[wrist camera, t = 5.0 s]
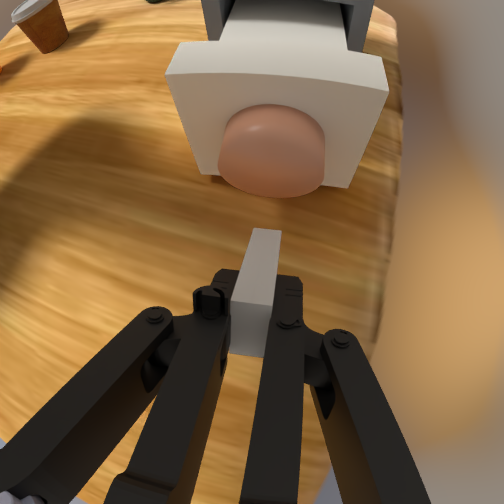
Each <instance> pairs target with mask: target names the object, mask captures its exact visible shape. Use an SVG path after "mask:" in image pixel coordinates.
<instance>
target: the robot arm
mask: <svg viewBox="0 0 504 504" xmlns="http://www.w3.org/2000/svg"><path fill="white" fill-rule="evenodd" d="M281 233H282V231H280V230H271V229H262V228H254V229H253V232H252V235H251V238H250V241H249V244H248V247H247V250H246V253H245V257H244V260H243V263H242V266H241V269H240V271H238V270H229V269H221V270H220V271H218V272H217V273H216V274H215V276H214V278H213V281H212V283H211V285H210V286H203V287H200V288H198V289H196V290H195V291H194V292H193V308H194V311H193V313H192V314H189V315H184V316H172V313H171V312H170V310H168V309H166V308H164V307H160V306H156V307H150V308H146V309H145V310H143V311H142V312H141V313H140V314H138V315H137V316H136V317H135V318H134V319H133V320H132V321H131V322H130V323H129V324H128V325H127V326H126V327H125V328H123V329H122V330H121V331H120V332H119V333H118V334H117V335H116V336H115V337H114V338H113V339H112V340H111V341H110V342H109V343H108V344H107V345H106V346H104V347H103V348H102V349H101V350H100V351H99V352H98V353H97V354H96V355H95V356H94V357H93V358H92V359H91V360H90V361H89V362H88V363H87V364H86V365H85V366H84V367H83V368H82V369H81V370H80V371H79V372H77V373H76V374H75V375H74V376H73V377H72V378H71V379H70V380H69V381H68V382H67V383H66V384H65V385H64V386H63V387H62V388H61V389H60V390H59V391H58V392H57V393H56V394H55V395H54V396H53V397H52V398H51V399H50V400H49V401H48V402H47V403H46V404H45V405H44V406H43V407H42V408H41V409H40V410H39V411H38V412H37V413H36V414H35V415H34V416H33V417H32V418H31V419H30V420H29V421H28V422H27V423H26V424H25V425H24V426H23V427H22V428H21V429H20V430H19V432H18V433H17V434H16V435H15V436H14V437H13V438H12V439H11V440H10V441H9V442H8V443H7V444H6V445H5V446H4V447H3V448H2V449H0V504H69V503H70V502H71V501H72V499H73V498H74V497H75V496H76V495H77V494H78V493H79V491H80V490H81V489H82V488H83V487H84V485H85V484H86V483H87V482H88V480H89V479H90V478H91V477H92V475H93V474H94V473H95V472H96V471H97V469H98V468H99V467H100V466H101V464H102V463H103V462H104V461H105V459H106V458H107V457H108V456H109V454H110V453H111V452H112V451H113V449H114V448H115V447H116V446H117V444H118V443H119V442H120V441H121V439H122V438H123V437H124V436H125V434H126V433H127V432H128V431H129V429H130V428H131V427H132V426H133V424H134V423H135V422H136V421H137V419H138V418H139V417H140V415H141V414H142V413H143V412H144V410H145V409H146V408H147V407H148V405H149V404H150V403H151V402H152V400H153V399H154V398H155V396H156V395H157V396H156V399H155V401H154V403H153V406H152V408H151V411H150V413H149V415H148V418H147V420H146V423H145V425H144V427H143V430H142V432H141V435H140V437H139V440H138V442H137V445H136V447H135V449H134V452H133V454H132V457H131V459H130V462H129V464H128V467H127V469H126V470H125V471H124V472H123V473H120V474H118V475H117V476H116V477H115V478H114V480H113V482H112V484H111V486H110V488H109V491H108V493H107V496H106V498H105V501H104V503H103V504H190V503H191V499H192V495H193V492H194V488H195V484H196V480H197V477H198V473H199V469H200V465H201V461H202V458H203V454H204V450H205V446H206V442H207V439H208V435H209V431H210V427H211V423H212V419H213V416H214V412H215V408H216V404H217V400H218V396H219V393H220V389H221V385H222V381H223V377H224V373H225V370H226V366H227V354H228V350H229V353H232V354H239V355H246V356H253V357H261V358H264V359H263V366H262V372H261V379H260V385H259V391H258V397H257V404H256V410H255V416H254V422H253V428H252V434H251V440H250V445H249V451H248V457H247V463H246V468H245V474H244V479H243V485H242V490H241V495H240V500H239V504H297V497H298V485H299V471H300V456H301V439H302V418H303V392H304V383H306V384H309V385H310V390H311V394H312V397H313V400H314V404H315V407H316V411H317V414H318V417H319V421H320V424H321V428H322V431H323V435H324V438H325V442H326V445H327V449H328V452H329V456H330V459H331V463H332V466H333V470H334V473H335V477H336V480H337V484H338V487H339V491H340V494H341V498H342V502H343V504H431V502H430V499H429V497H428V494H427V492H426V489H425V487H424V484H423V482H422V479H421V477H420V475H419V472H418V470H417V467H416V465H415V462H414V460H413V458H412V455H411V453H410V451H409V448H408V446H407V444H406V442H405V439H404V437H403V435H402V433H401V430H400V428H399V426H398V424H397V421H396V419H395V417H394V415H393V413H392V410H391V408H390V406H389V404H388V402H387V400H386V397H385V395H384V393H383V391H382V389H381V387H380V385H379V383H378V381H377V378H376V376H375V374H374V372H373V371H372V368H371V366H370V364H369V362H368V360H367V358H366V356H365V354H364V352H363V350H362V348H361V346H360V344H359V342H358V340H357V338H356V337H355V336H354V335H353V334H352V333H350V332H349V331H346V330H342V329H333V330H329V331H328V332H326V333H325V334H324V335H323V334H320V333H317V332H315V331H312V330H311V329H309V328H308V327H307V326H306V325H305V323H304V321H303V283H302V282H301V280H300V279H299V277H295V276H286V275H278V274H277V269H278V260H279V251H280V242H281Z"/></svg>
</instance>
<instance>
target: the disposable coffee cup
mask: <svg viewBox="0 0 504 504" xmlns="http://www.w3.org/2000/svg"><path fill="white" fill-rule="evenodd" d="M11 16H12V22H13V23H15V24H17V25H18V26H19V27H20V29H21V30H22V31H23V32H24V33H25V34H26V35H27V37H28V38H29V39H30V40H31V41H32V42H33V43H34V44H35V46H36V47H37V48H38V49H39V50H40V51H41V52H42V53H44V54H45V53H48V52H51V51H53V50H54V49H56V48H57V47H59V46H60V45H61V44H62V43H64V42H65V41H66V39H67V38H68V36H69V33H68V30H67V28H66V25H65V22H64V19H63V16H62V13H61V10H60V6H59V3H58V0H26V1H24V2H23V3H22V4H21V5H20V6H19V7H17V8H16V9H15V10H14V12H13V13H12V14H11Z"/></svg>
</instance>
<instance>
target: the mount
mask: <svg viewBox="0 0 504 504" xmlns="http://www.w3.org/2000/svg"><path fill="white" fill-rule="evenodd" d="M235 1H236V0H201V3H202V8H203V14H204V19H205V24H206V30H207V35H208V40H209V41H219V40H220V37H221V34H222V32H223V29H224V27H225V24H226V22H227V20H228V17H229V15H230V12H231V10H232V8H233V5H234V3H235ZM323 1H331V2H337V3H340V8H341V14H342V19H343V25H344V31H345V37H346V43H347V50H349V51H354V52H360V53H362V50H363V46H364V42H365V38H366V34H367V30H368V26H369V22H370V17H371V13H372V9H373V4H374V0H323Z"/></svg>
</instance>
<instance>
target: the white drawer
mask: <svg viewBox="0 0 504 504" xmlns="http://www.w3.org/2000/svg"><path fill="white" fill-rule="evenodd" d="M165 77H166V80H167V83H168V86H169V89H170V91H171V94H172V97H173V100H174V103H175V105H176V108H177V111H178V114H179V117H180V119H181V122H182V125H183V128H184V130H185V133H186V136H187V139H188V141H189V144H190V147H191V150H192V152H193V155H194V158H195V160H196V163H197V166H198V168H199V171H200V174H205V175H221V176H222V177H223V178H224V180H226V181H227V182H228V183H229V184H231V185H232V186H234V187H236V188H238V189H240V190H242V191H245V192H247V193H250V194H254V195H258V196H263V197H271V198H290V197H297V196H301V195H305V194H308V193H310V192H312V191H314V190H315V189H317V188H318V187H319V186H320V185H324V186H332V187H340V188H347V189H348V187H349V185H350V183H351V180H352V178H353V176H354V174H355V172H356V169H357V167H358V165H359V163H360V160H361V158H362V156H363V154H364V151H365V149H366V147H367V144H368V142H369V140H370V137H371V135H372V133H373V130H374V128H375V126H376V123H377V121H378V119H379V116H380V114H381V111H382V109H383V106H384V104H385V102H386V99H387V97H388V94H389V87H388V83H387V78H386V74H385V70H384V66H383V62H382V58H381V57H379V56H375V55H370V54H365V53H360V52H354V51H349V50H347V43H346V37H345V31H344V25H343V19H342V14H341V8H340V3H337V2H331V1H323V0H236V1H235V3H234V5H233V8H232V10H231V12H230V15H229V17H228V20H227V22H226V24H225V27H224V29H223V32H222V34H221V37H220V40H219V41H197V42H181V43H180V44H179V46H178V48H177V50H176V52H175V54H174V56H173V58H172V60H171V62H170V64H169V66H168V69H167V71H166V73H165Z"/></svg>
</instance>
